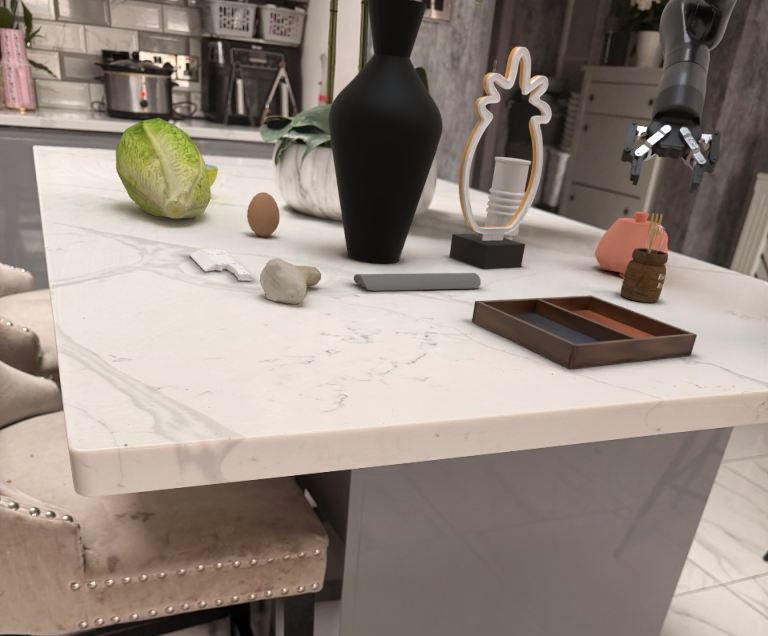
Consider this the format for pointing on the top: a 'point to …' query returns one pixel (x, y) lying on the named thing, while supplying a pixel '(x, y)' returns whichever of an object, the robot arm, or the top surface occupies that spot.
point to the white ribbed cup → (506, 192)
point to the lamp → (490, 242)
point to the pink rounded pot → (627, 242)
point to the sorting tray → (582, 330)
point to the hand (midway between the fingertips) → (663, 185)
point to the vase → (384, 137)
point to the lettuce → (163, 170)
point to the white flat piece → (219, 262)
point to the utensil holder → (646, 270)
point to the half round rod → (418, 281)
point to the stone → (287, 281)
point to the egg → (263, 214)
